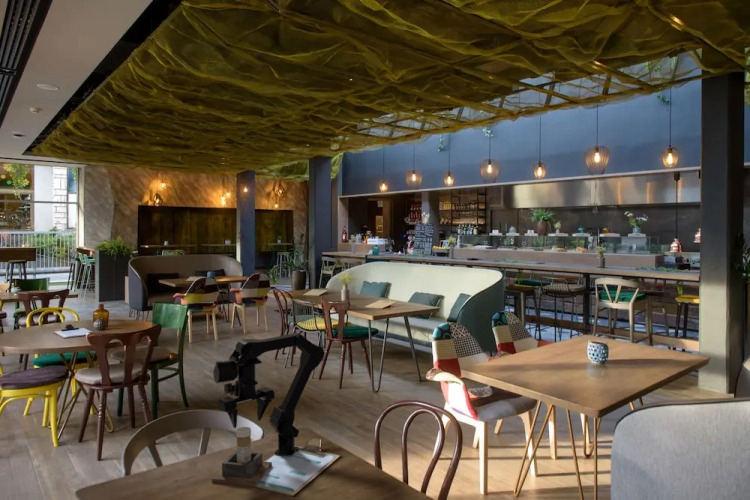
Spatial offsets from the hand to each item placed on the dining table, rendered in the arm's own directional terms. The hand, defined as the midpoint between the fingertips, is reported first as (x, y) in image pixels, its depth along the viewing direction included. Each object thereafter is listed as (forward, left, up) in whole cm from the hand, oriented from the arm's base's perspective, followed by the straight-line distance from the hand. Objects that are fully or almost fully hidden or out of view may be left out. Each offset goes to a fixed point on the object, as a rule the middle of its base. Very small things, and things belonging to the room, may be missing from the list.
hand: (247, 423), depth 174 cm
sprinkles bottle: (+8, +3, -12) cm, 15 cm away
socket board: (+8, +2, -13) cm, 15 cm away
